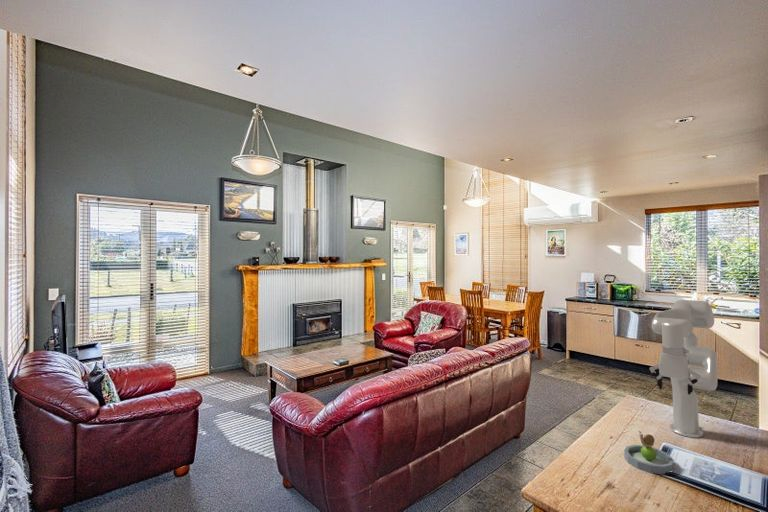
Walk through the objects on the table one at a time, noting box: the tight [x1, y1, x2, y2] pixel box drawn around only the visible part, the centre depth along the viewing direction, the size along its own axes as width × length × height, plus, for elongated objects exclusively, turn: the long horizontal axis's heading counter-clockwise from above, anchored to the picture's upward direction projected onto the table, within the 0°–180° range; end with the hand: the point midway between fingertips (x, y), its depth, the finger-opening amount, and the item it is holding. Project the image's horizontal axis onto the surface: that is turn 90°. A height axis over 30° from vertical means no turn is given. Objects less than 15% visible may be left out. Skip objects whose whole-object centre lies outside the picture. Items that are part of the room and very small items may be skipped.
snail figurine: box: [638, 430, 657, 460], centre depth 156 cm, size 5×6×12 cm
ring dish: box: [623, 444, 675, 475], centre depth 156 cm, size 16×16×3 cm
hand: (674, 391), depth 159 cm, fingers open, 9 cm apart
